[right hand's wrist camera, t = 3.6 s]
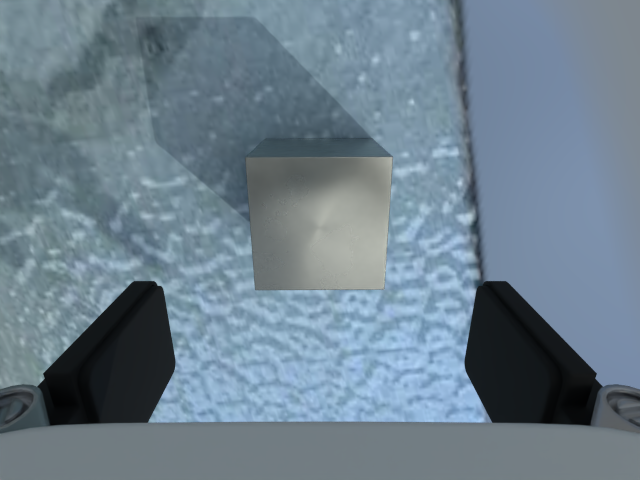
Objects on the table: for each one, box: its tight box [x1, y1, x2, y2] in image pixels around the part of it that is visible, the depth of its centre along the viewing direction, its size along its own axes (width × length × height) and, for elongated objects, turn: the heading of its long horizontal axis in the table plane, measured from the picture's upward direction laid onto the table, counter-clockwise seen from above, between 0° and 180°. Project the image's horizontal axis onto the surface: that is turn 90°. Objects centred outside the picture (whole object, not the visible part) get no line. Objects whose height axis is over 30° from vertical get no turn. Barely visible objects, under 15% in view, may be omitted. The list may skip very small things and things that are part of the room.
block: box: [245, 138, 393, 290], centre depth 22 cm, size 7×7×7 cm
